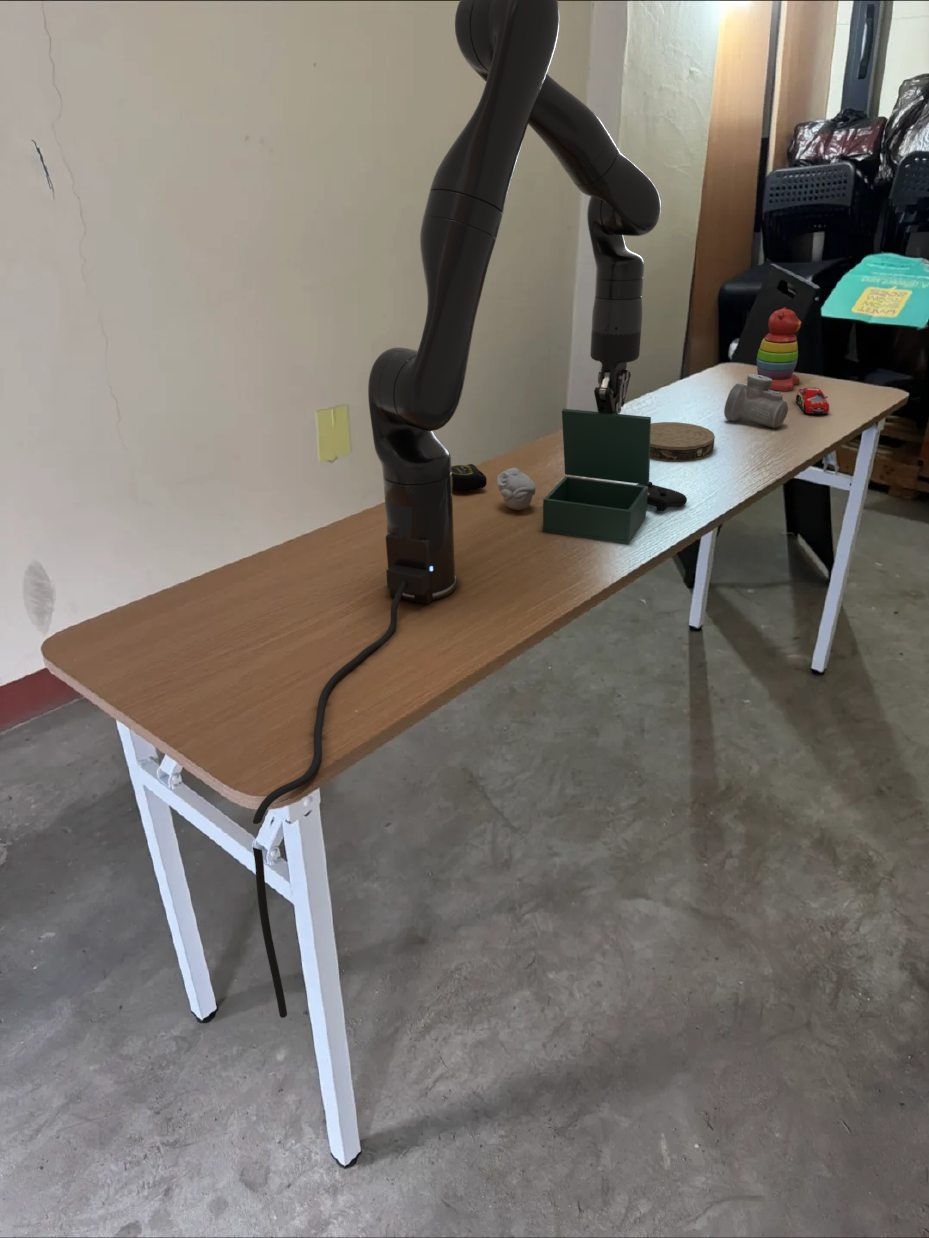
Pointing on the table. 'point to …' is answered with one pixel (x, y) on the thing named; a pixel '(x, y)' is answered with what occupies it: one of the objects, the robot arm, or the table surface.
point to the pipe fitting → (756, 402)
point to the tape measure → (467, 478)
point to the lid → (606, 445)
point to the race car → (812, 401)
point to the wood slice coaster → (680, 442)
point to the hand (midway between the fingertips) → (609, 437)
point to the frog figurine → (515, 488)
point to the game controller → (664, 497)
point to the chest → (595, 509)
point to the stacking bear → (780, 350)
